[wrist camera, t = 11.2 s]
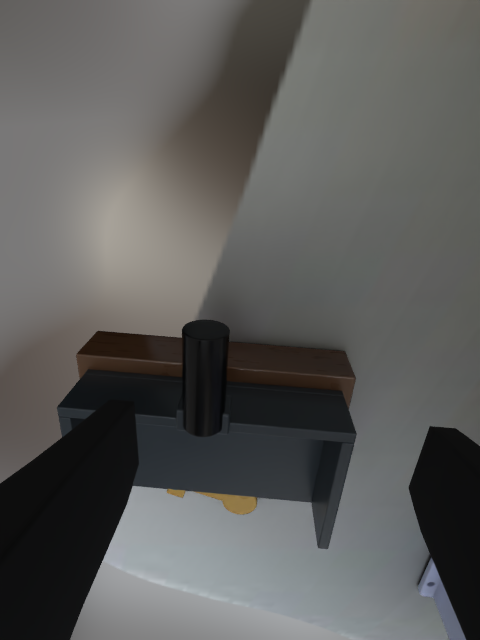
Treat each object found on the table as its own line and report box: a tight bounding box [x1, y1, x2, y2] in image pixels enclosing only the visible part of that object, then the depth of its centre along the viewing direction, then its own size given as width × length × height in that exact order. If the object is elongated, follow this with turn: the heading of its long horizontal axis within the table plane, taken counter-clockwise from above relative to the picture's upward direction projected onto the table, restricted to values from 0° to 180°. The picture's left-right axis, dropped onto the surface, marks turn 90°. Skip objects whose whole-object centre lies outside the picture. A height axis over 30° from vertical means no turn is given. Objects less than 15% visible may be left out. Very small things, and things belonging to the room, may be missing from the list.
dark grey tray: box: [57, 320, 357, 549], centre depth 16 cm, size 11×12×4 cm
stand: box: [76, 331, 356, 410], centre depth 20 cm, size 8×13×2 cm, turn 86°
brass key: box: [167, 489, 257, 514], centre depth 23 cm, size 6×2×1 cm, turn 71°
